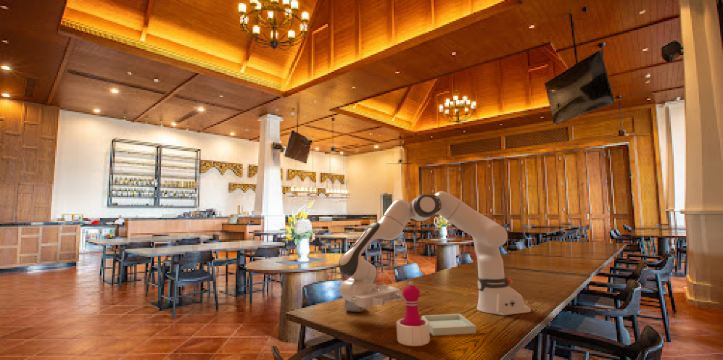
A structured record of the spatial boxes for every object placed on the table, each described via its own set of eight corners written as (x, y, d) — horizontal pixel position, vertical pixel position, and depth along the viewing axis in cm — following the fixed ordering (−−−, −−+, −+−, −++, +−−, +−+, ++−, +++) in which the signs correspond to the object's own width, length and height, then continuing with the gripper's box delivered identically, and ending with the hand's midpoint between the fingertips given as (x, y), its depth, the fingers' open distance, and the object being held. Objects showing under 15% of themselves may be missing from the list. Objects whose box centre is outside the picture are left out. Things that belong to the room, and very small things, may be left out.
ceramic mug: (361, 313, 153) (361, 296, 154) (344, 312, 156) (344, 295, 157) (367, 308, 163) (367, 291, 164) (351, 307, 166) (351, 290, 167)
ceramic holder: (424, 333, 125) (423, 316, 126) (433, 344, 114) (432, 326, 115) (395, 335, 124) (394, 318, 125) (400, 346, 113) (400, 328, 114)
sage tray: (460, 320, 140) (459, 313, 140) (476, 333, 124) (475, 325, 124) (421, 322, 139) (421, 315, 139) (433, 335, 123) (432, 328, 123)
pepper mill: (408, 344, 115) (405, 283, 117) (399, 337, 122) (397, 280, 124) (427, 342, 117) (424, 282, 119) (418, 335, 124) (415, 278, 126)
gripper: (347, 290, 132) (371, 296, 122) (386, 282, 145) (410, 287, 135) (348, 307, 132) (372, 314, 121) (386, 298, 145) (411, 303, 134)
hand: (392, 300), depth 128 cm, fingers open, 8 cm apart
